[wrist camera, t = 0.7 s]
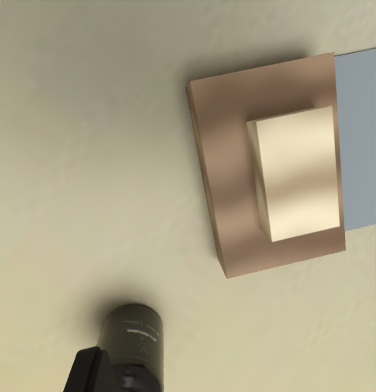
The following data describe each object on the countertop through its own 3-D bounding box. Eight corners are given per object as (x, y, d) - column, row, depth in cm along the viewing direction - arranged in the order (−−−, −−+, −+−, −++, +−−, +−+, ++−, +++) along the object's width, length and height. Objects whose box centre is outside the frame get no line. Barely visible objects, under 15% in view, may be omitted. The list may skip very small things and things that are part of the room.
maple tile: (246, 121, 24) (256, 121, 21) (314, 107, 24) (332, 105, 22) (261, 231, 26) (272, 241, 24) (323, 217, 27) (339, 226, 24)
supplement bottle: (157, 296, 31) (157, 397, 20) (167, 347, 33) (173, 466, 22) (95, 308, 31) (57, 418, 19) (108, 359, 33) (82, 487, 21)
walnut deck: (185, 87, 26) (190, 80, 22) (308, 62, 27) (334, 52, 23) (218, 259, 31) (226, 278, 27) (322, 234, 32) (345, 250, 28)
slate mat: (313, 61, 27) (315, 60, 27) (422, 39, 27) (425, 38, 27) (327, 233, 32) (328, 234, 31) (419, 212, 32) (421, 213, 32)
